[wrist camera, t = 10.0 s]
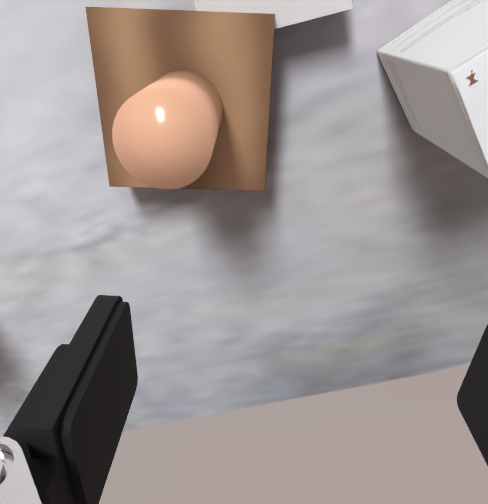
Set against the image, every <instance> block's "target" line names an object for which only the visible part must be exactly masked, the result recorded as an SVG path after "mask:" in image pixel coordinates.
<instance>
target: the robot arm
mask: <svg viewBox="0 0 488 504" xmlns="http://www.w3.org/2000/svg"><path fill="white" fill-rule="evenodd" d="M137 379H138V376H137V367H136V358H135V349H134V340H133V331H132V323H131V314H130V306H129V303H128V302H123V300H122V297H120V296H107V295H99V296H97V297H96V299H95V301H94V302H93V304H92V306H91V308H90V309H89V311H88V313H87V314H86V316H85V318H84V320H83V321H82V323H81V325H80V327H79V328H78V330H77V332H76V334H75V335H74V337H73V339H72V341H71V342H70V344H62V345H60V346H58V348H57V349H56V350H55V352H54V353H53V355H52V357H51V358H50V360H49V362H48V363H47V365H46V366H45V368H44V370H43V371H42V373H41V375H40V376H39V378H38V380H37V381H36V383H35V385H34V386H33V388H32V390H31V391H30V393H29V394H28V396H27V398H26V399H25V401H24V403H23V404H22V406H21V408H20V409H19V411H18V413H17V414H16V416H15V418H14V419H13V421H12V422H11V424H10V426H9V427H8V429H7V431H6V432H5V434H4V436H3V437H2V436H0V504H99V500H100V498H101V495H102V492H103V488H104V485H105V482H106V479H107V476H108V473H109V470H110V467H111V464H112V461H113V458H114V455H115V452H116V449H117V446H118V443H119V440H120V437H121V433H122V431H123V428H124V425H125V422H126V419H127V415H128V412H129V409H130V406H131V403H132V400H133V397H134V394H135V391H136V387H137ZM457 403H458V407H459V410H460V412H461V414H462V416H463V418H464V419H465V422H466V423H467V426H468V427H469V430H470V431H471V434H472V436H473V438H474V439H475V441H476V443H477V445H478V447H479V449H480V451H481V453H482V455H483V457H484V459H485V461H486V463H487V465H488V325H487V327H486V329H485V331H484V333H483V336H482V338H481V340H480V343H479V345H478V347H477V350H476V352H475V354H474V357H473V359H472V362H471V364H470V366H469V369H468V371H467V373H466V376H465V378H464V380H463V383H462V385H461V388H460V390H459V392H458V395H457Z"/></svg>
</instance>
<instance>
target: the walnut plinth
mask: <svg viewBox="0 0 488 504" xmlns="http://www.w3.org/2000/svg"><path fill="white" fill-rule="evenodd" d="M86 13H87V20H88V28H89V35H90V43H91V50H92V58H93V65H94V73H95V80H96V88H97V95H98V103H99V110H100V117H101V125H102V132H103V140H104V147H105V155H106V162H107V170H108V177H109V185H110V186H112V187H147V188H153V187H150V186H147V185H145V184H143V183H141V182H140V181H138V180H136V179H135V178H134V177H133V176H131V175H130V174H129V173H128V172H127V171H126V170H125V168H124V167H123V166H122V164H121V163H120V161H119V159H118V157H117V155H116V152H115V149H114V146H113V140H112V128H113V123H114V119H115V117H116V114H117V112H118V110H119V109H120V107H121V106H122V105H123V104H124V103H125V102H126V101H127V100H128V99H129V98H130V97H132V96H133V95H135V94H136V93H138V92H139V91H141V90H142V89H144V88H145V87H147V86H148V85H150V84H151V83H153V82H154V81H156V80H158V79H159V78H161V77H162V76H164V75H165V74H167V73H169V72H171V71H174V70H179V69H187V70H193V71H196V72H198V73H200V74H202V75H204V76H205V77H207V78H208V79H209V80H210V81H211V82H212V83H213V84H214V85H215V87H216V88H217V90H218V92H219V94H220V97H221V100H222V105H223V116H222V121H221V124H220V128H219V131H218V135H217V138H216V142H215V145H214V149H213V152H212V156H211V159H210V162H209V164H208V166H207V168H206V169H205V171H204V172H203V174H202V175H201V176H200V177H199V178H198V179H196V180H195V181H194V182H192V183H191V184H189V185H187V186H184V187H181V189H216V190H251V191H264V190H265V174H266V157H267V140H268V123H269V106H270V89H271V73H272V56H273V39H274V22H275V14H265V13H238V12H211V11H183V10H156V9H129V8H102V7H86Z"/></svg>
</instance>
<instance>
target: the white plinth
mask: <svg viewBox="0 0 488 504" xmlns="http://www.w3.org/2000/svg"><path fill="white" fill-rule="evenodd" d="M194 4H195V8H196V11H211V12H238V13H265V14H275V22H274V29H277V28H281V27H284V26H288V25H292V24H296V23H300V22H303V21H307V20H311V19H315V18H319V17H322V16H326V15H330V14H334V13H338V12H341V11H345V10H349V9H352V0H194Z"/></svg>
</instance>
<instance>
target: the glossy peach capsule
mask: <svg viewBox="0 0 488 504" xmlns="http://www.w3.org/2000/svg"><path fill="white" fill-rule="evenodd" d="M222 116H223V105H222V100H221V97H220V94H219V92H218V90H217V88H216V87H215V85H214V84H213V83H212V82H211V81H210V80H209V79H208V78H207V77H205V76H204V75H202V74H200V73H198V72H196V71H193V70H187V69H179V70H174V71H171V72H169V73H167V74H165V75H164V76H162V77H161V78H159V79H158V80H156V81H154V82H153V83H151V84H150V85H148V86H147V87H145V88H144V89H142V90H141V91H139V92H138V93H136V94H135V95H133V96H132V97H130V98H129V99H128V100H127V101H126V102H125V103H124V104H123V105H122V106H121V107H120V109H119V110H118V112H117V114H116V117H115V119H114V123H113V128H112V140H113V146H114V149H115V152H116V155H117V157H118V159H119V161H120V163H121V164H122V166H123V167H124V168H125V170H126V171H127V172H128V173H129V174H130V175H131V176H133V177H134V178H135V179H136V180H138V181H140V182H141V183H143V184H145V185H147V186H150V187H153V188H157V189H165V190H169V189H178V188H181V187H184V186H187V185H189V184H191V183H192V182H194V181H195V180H196V179H198V178H199V177H200V176H201V175H202V174H203V172H204V171H205V169H206V168H207V166H208V164H209V162H210V159H211V156H212V152H213V149H214V145H215V142H216V138H217V135H218V131H219V128H220V124H221V121H222Z"/></svg>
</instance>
